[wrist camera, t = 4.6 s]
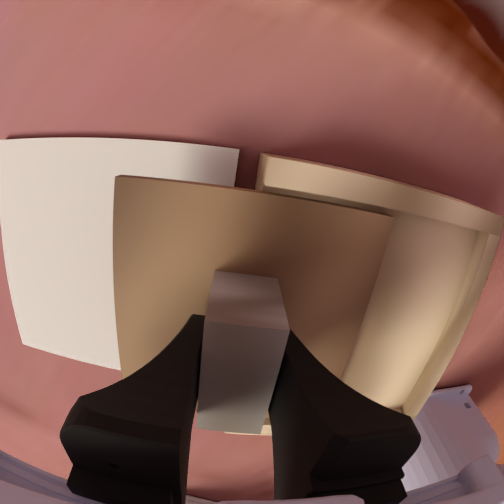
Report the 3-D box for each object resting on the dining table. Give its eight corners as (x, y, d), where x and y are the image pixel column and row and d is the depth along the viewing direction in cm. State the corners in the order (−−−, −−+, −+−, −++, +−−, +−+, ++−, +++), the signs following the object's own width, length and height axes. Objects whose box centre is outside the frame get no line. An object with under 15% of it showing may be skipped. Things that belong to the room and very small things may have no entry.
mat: (239, 149, 14) (239, 149, 14) (209, 380, 19) (209, 384, 18) (4, 139, 13) (0, 140, 12) (25, 340, 17) (22, 343, 17)
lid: (387, 213, 12) (443, 247, 8) (319, 411, 15) (334, 469, 12) (120, 174, 11) (66, 193, 7) (128, 390, 15) (106, 447, 11)
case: (457, 198, 15) (505, 218, 11) (388, 384, 20) (410, 425, 16) (260, 152, 14) (270, 156, 10) (225, 381, 19) (224, 433, 15)
